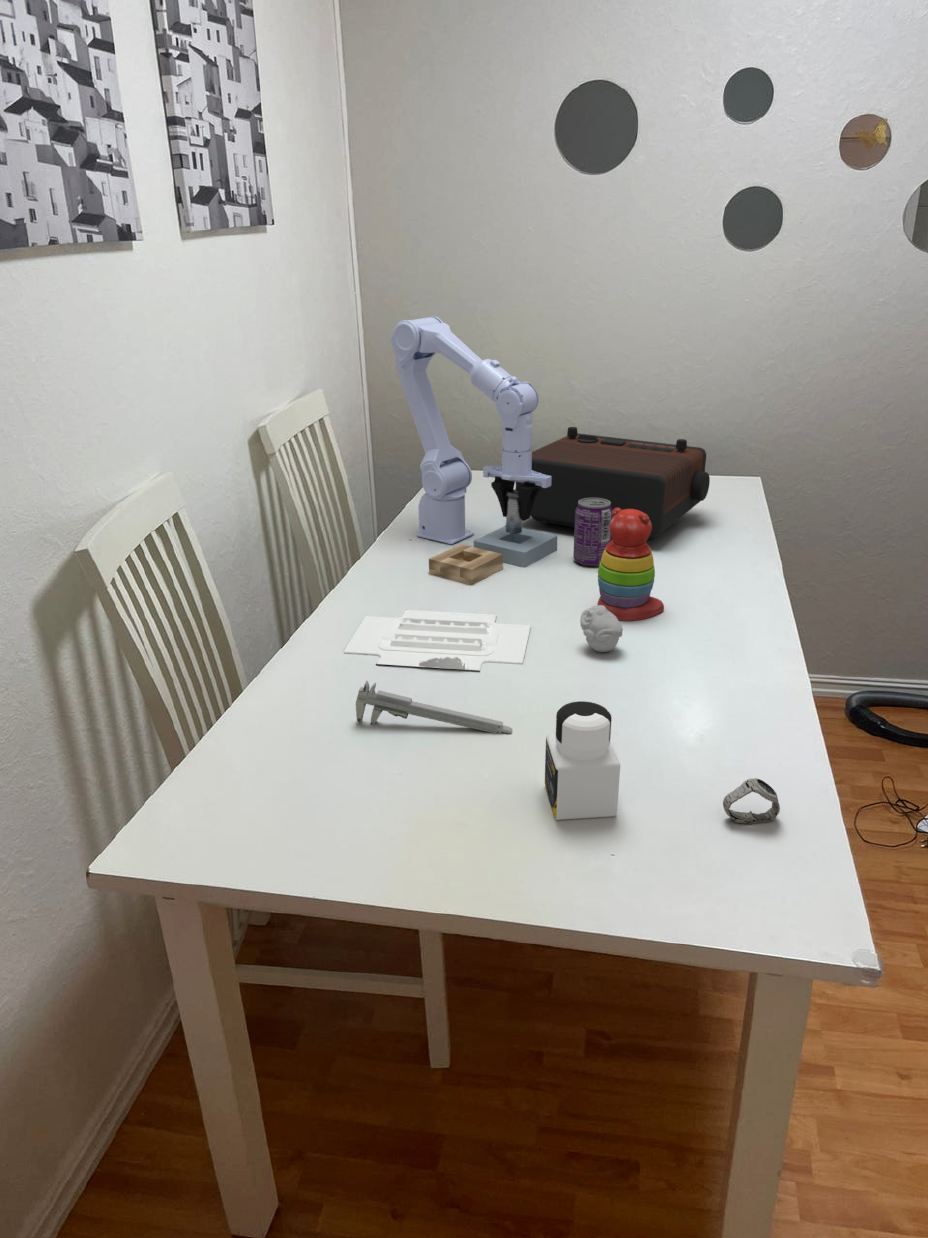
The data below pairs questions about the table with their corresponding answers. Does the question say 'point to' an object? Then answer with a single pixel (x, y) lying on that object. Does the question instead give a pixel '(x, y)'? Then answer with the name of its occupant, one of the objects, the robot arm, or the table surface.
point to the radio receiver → (619, 477)
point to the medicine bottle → (582, 763)
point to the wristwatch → (750, 817)
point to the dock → (518, 545)
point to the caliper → (420, 711)
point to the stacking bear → (628, 568)
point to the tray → (440, 640)
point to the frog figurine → (600, 628)
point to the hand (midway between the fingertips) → (516, 517)
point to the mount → (465, 564)
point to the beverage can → (591, 530)
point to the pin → (513, 512)
